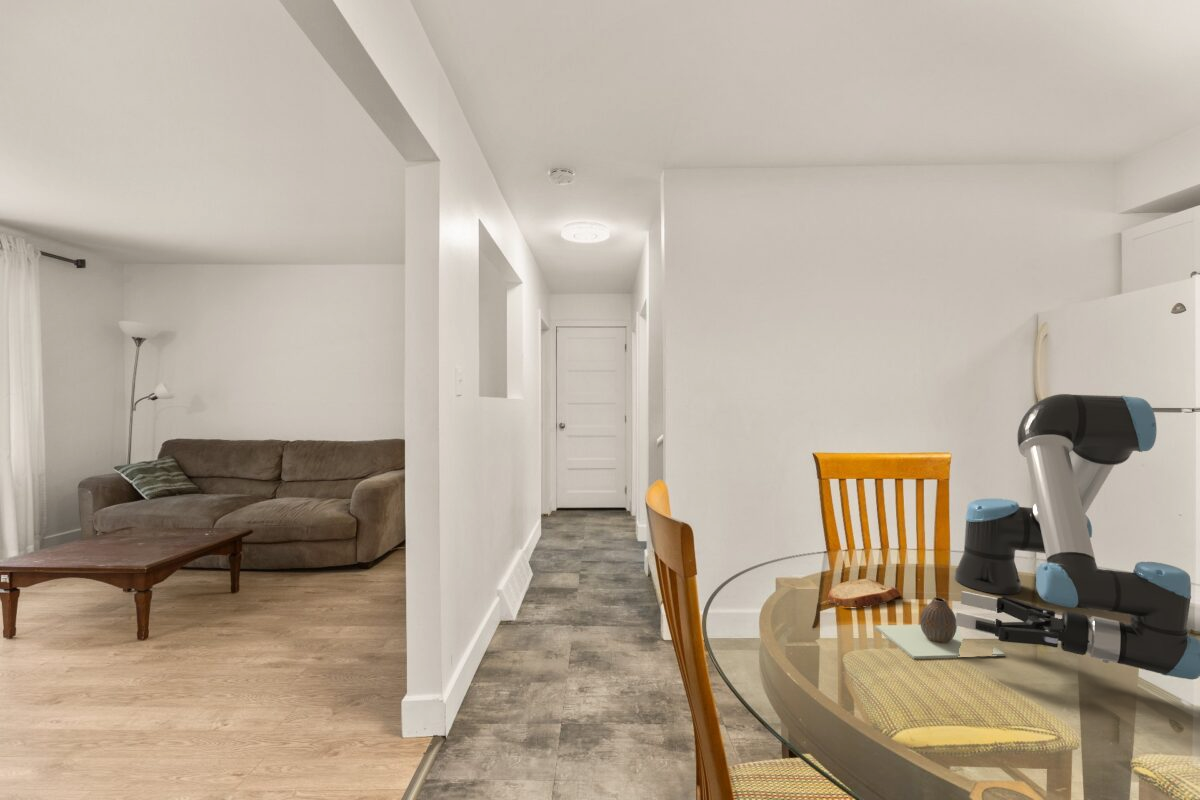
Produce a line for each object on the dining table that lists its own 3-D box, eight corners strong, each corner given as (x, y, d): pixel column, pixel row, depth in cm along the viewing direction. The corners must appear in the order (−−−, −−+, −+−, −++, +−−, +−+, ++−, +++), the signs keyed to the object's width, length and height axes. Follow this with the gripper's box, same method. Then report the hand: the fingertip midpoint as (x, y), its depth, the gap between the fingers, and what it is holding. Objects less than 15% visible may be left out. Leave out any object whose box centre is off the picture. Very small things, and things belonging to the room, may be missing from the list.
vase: (912, 631, 133) (914, 593, 132) (941, 631, 134) (944, 592, 133) (932, 646, 126) (935, 606, 125) (963, 646, 127) (966, 605, 126)
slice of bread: (829, 608, 147) (830, 593, 147) (823, 582, 164) (824, 569, 164) (910, 618, 142) (911, 603, 142) (895, 591, 159) (896, 577, 159)
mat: (957, 626, 138) (957, 623, 138) (1004, 656, 124) (1004, 653, 124) (875, 628, 136) (875, 625, 136) (913, 659, 122) (913, 656, 122)
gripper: (1092, 682, 105) (952, 646, 117) (1080, 631, 125) (962, 605, 137) (1096, 640, 104) (955, 609, 116) (1083, 596, 125) (964, 573, 137)
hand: (958, 607), depth 127 cm, fingers open, 13 cm apart
